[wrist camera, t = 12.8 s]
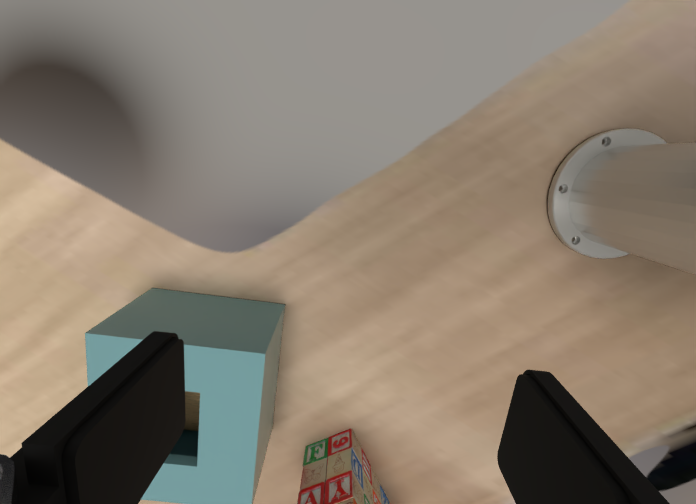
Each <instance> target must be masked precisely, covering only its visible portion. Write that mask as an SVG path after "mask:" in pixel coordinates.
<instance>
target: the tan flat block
mask: <svg viewBox="0 0 696 504" xmlns="http://www.w3.org/2000/svg"><path fill="white" fill-rule="evenodd" d="M199 410H200V393H197V392H188V391H185V418H186V420H185V427H184V429H185V430H191V431H198V432H199Z"/></svg>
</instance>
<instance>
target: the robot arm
mask: <svg viewBox="0 0 696 504" xmlns="http://www.w3.org/2000/svg"><path fill="white" fill-rule="evenodd" d="M559 187H560V189H559ZM548 215H549V219H550V223H551V226H552V228H553V230H554V232H555V234H556V235H557V236H558V238H559V239H560V240H561V241H562V242H563V243H564V244H565V245H566V246H568V247H569V248H570V249H572V250H574V251H576V252H578V253H580V254H583V255H586V256H589V257H593V258H600V259H609V258H617V257H621V256H626V255H628V254H633V255H636V256H639V257H642V258H645V259H648V260H651V261H654V262H658V263H661V264H664V265H667V266H670V267H673V268H676V269H679V270H682V271H685V272H688V273H691V274H694V275H696V142H689V143H670V144H668V143H667V142H666V141H664V140H663V139H662V138H661V137H659V136H657V135H655V134H653V133H652V132H649V131H645V130H641V129H630V128H625V129H616V130H611V131H607V132H603V133H600V134H598V135H595V136H593V137H591V138H589V139H587V140H586V141H584V142H583V143H581V144H580V145H578V146H577V147H576V148H575V149H574V150H573V151H572V152H571V153H570V154H569V155H568V156H567V157H566V158H565V160H564V161H563V162H562V163H561V165H560V166H559V168H558V170H557V172H556V174H555V176H554V177H553V180H552V183H551V186H550V189H549V196H548ZM185 420H186V418H185V367H184V342H183V340H182V339H179V338H178V335H177V334H176V333H169V332H159V331H154V332H152V333H151V334H149V335H148V336H147V337H146V338H145V339H143V340H142V341H141V342H140V343H139V344H138V345H136V346H135V347H134V348H133V349H132V350H131V351H129V352H128V353H127V354H126V355H125V356H124V357H122V358H121V359H120V360H119V361H118V362H116V363H115V364H114V365H113V366H112V367H111V368H109V369H108V370H107V371H106V372H105V373H104V374H102V375H101V376H100V377H99V378H98V379H96V380H95V381H94V382H93V383H92V384H91V385H89V386H88V387H87V388H86V389H85V390H84V391H82V392H81V393H80V394H79V395H78V396H77V397H75V398H74V399H73V400H72V401H71V402H69V403H68V404H67V405H66V406H65V407H64V408H62V409H61V410H60V411H59V412H58V413H57V414H55V415H54V416H53V417H52V418H51V419H49V420H48V421H47V422H46V423H45V424H44V425H42V426H41V427H40V428H39V429H38V430H37V431H35V432H34V433H33V434H32V435H31V436H30V437H28V438H27V439H26V440H25V441H24V442H22V448H21V449H20V450H19V451H17V452H16V453H15V454H14V455H13V456H12V457H10V458H9V457H8V456H6V455H1V454H0V504H138V503H139V501H140V500H141V498H142V497H143V495H144V493H145V492H146V490H147V489H148V487H149V486H150V484H151V482H152V481H153V479H154V478H155V476H156V474H157V473H158V471H159V470H160V468H161V467H162V465H163V463H164V462H165V460H166V459H167V457H168V455H169V454H170V452H171V451H172V449H173V448H174V446H175V444H176V443H177V441H178V440H179V438H180V436H181V435H182V433H183V430H184V427H185ZM498 465H499V468H500V470H501V472H502V474H503V477H504V479H505V481H506V483H507V485H508V487H509V490H510V492H511V494H512V496H513V498H514V500H515V503H516V504H669V503H668V502H667V500H666V499H665V498H664V497H663V496H662V495H661V494H660V493H659V491H658V490H657V489H656V488H655V487H654V486H653V485H652V484H651V483H650V482H649V480H648V479H647V478H646V477H645V476H644V475H643V474H642V473H641V472H640V471H639V470H638V468H637V467H636V466H635V465H634V464H633V463H632V462H631V461H630V460H629V458H628V457H627V456H626V455H625V454H624V453H623V452H622V451H621V450H620V449H619V447H618V446H617V445H616V444H615V443H614V442H613V441H612V440H611V439H610V437H609V436H608V435H607V434H606V433H605V432H604V431H603V430H602V429H601V428H600V426H599V425H598V424H597V423H596V422H595V421H594V420H593V419H592V418H591V417H590V415H589V414H588V413H587V412H586V411H585V410H584V409H583V408H582V407H581V406H580V404H579V403H578V402H577V401H576V400H575V399H574V398H573V397H572V396H571V395H570V393H569V392H568V391H567V390H566V389H565V388H564V387H563V386H562V385H561V383H560V382H559V381H558V380H557V379H556V378H555V377H554V376H553V375H552V374H551V373H550V372H545V371H535V370H526V371H525V372H524V373H523V375H522V374H521V375H519V376H518V377H517V380H516V384H515V388H514V392H513V396H512V400H511V403H510V407H509V411H508V415H507V419H506V423H505V427H504V430H503V434H502V438H501V442H500V446H499V450H498Z"/></svg>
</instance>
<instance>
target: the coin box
mask: <svg viewBox="0 0 696 504" xmlns="http://www.w3.org/2000/svg"><path fill="white" fill-rule="evenodd" d="M284 310H285V304H278V303H270V302H262V301H254V300H246V299H238V298H230V297H221V296H213V295H205V294H197V293H189V292H181V291H173V290H165V289H157V288H151V289H150V290H148V291H147V292H145V293H144V294H143V295H141V296H140V297H138V298H137V299H135V300H134V301H132V302H131V303H129V304H128V305H126V306H125V307H123V308H122V309H120V310H119V311H117V312H116V313H114V314H113V315H111V316H110V317H108V318H107V319H105V320H104V321H102V322H101V323H99V324H98V325H96V326H95V327H93V328H92V329H91V330H89V331H88V332H86V333H85V338H86V358H87V378H88V386H89V385H91V384H92V383H93V382H94V381H95V380H96V379H98V378H99V377H100V376H101V375H102V374H104V373H105V372H106V371H107V370H108V369H109V368H111V367H112V366H113V365H114V364H115V363H116V362H118V361H119V360H120V359H121V358H122V357H124V356H125V355H126V354H127V353H128V352H129V351H131V350H132V349H133V348H134V347H135V346H136V345H138V344H139V343H140V342H141V341H142V340H143V339H145V338H146V337H147V336H148V335H149V334H151V333H152V332H154V331H159V332H169V333H176V334H177V335H178V338H179V339H182V340H183V342H184V367H185V391H188V392H197V393H200V410H199V432H198V431H191V430H185V429H184V430H183V433H182V435H181V436H180V438H179V440H178V441H177V443H176V444H175V446H174V448H173V449H172V451H171V452H170V454H169V455H168V457H167V459H166V460H165V462H164V463H163V465H162V467H161V468H160V470H159V471H158V473H157V474H156V476H155V478H154V479H153V481H152V482H151V484H150V486H149V487H148V489H147V490H146V492H145V493H144V495H143V497H142V498H141V500H152V501H163V502H173V503H184V504H253V501H254V497H255V493H256V489H257V486H258V482H259V478H260V474H261V470H262V466H263V463H264V459H265V455H266V451H267V447H268V443H269V440H270V436H271V432H272V427H273V417H274V407H275V398H276V388H277V378H278V369H279V359H280V349H281V339H282V330H283V320H284Z"/></svg>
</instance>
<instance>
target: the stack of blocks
mask: <svg viewBox="0 0 696 504" xmlns="http://www.w3.org/2000/svg"><path fill="white" fill-rule="evenodd" d="M297 504H391V503H390V502H389V501H388V499H387V497H386V495H385V493H384V491H383V489H382V487H381V485H380V484H379V482H378V480H377V478H376V476H375V474H374V472H373V470H372V469H371V466H370V464H369V461H368V460H367V458H366V456H365V454H364V452H363V450H362V448H361V446H360V444H359V442H358V440H357V438H356V436H355V434H354V432H353V430H352V429H349V430H346V431H344V432H341V433H338V434H336V435H333V436H331V437H329V438H326V439H324V440H321V441H318V442H316V443H313V444H311V445H308V446H306V448H305V455H304V461H303V472H302V479H301V486H300V492H299V495H298V503H297Z"/></svg>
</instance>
